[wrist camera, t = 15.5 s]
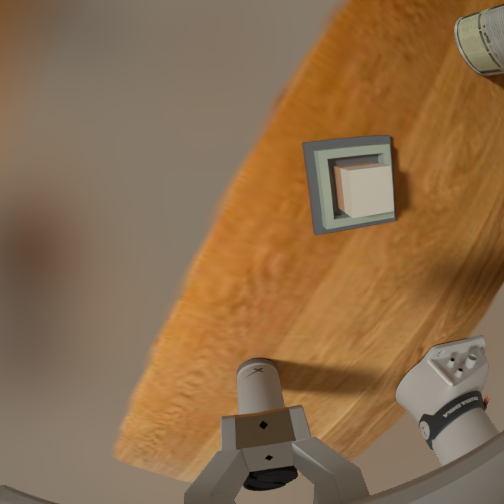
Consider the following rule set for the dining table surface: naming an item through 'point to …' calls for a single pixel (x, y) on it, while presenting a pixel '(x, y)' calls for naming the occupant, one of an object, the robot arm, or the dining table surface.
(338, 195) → the white and brown cube
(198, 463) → the dining table surface
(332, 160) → the grey square tray
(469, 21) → the coffee can
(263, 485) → the travel mug
